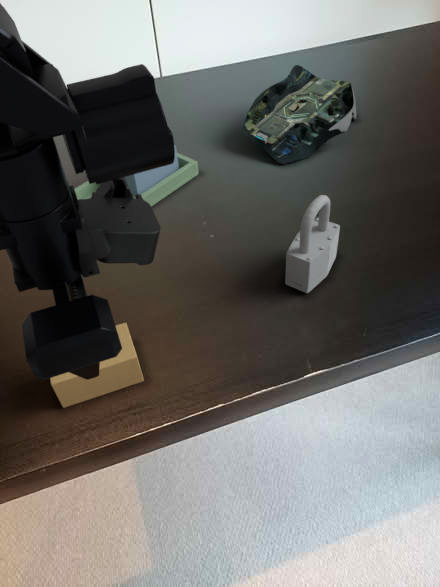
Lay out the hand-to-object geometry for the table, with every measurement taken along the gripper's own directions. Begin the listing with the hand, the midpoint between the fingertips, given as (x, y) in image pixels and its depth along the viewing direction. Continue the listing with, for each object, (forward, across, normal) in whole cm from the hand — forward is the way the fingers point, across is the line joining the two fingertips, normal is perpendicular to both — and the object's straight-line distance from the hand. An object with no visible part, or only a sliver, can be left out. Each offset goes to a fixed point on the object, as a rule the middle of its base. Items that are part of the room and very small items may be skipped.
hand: (83, 337), depth 48 cm
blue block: (+6, +31, -13) cm, 34 cm away
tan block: (+6, 0, 0) cm, 6 cm away
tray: (+6, +28, -9) cm, 30 cm away
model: (+6, +33, -39) cm, 51 cm away
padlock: (+6, +5, -26) cm, 27 cm away
